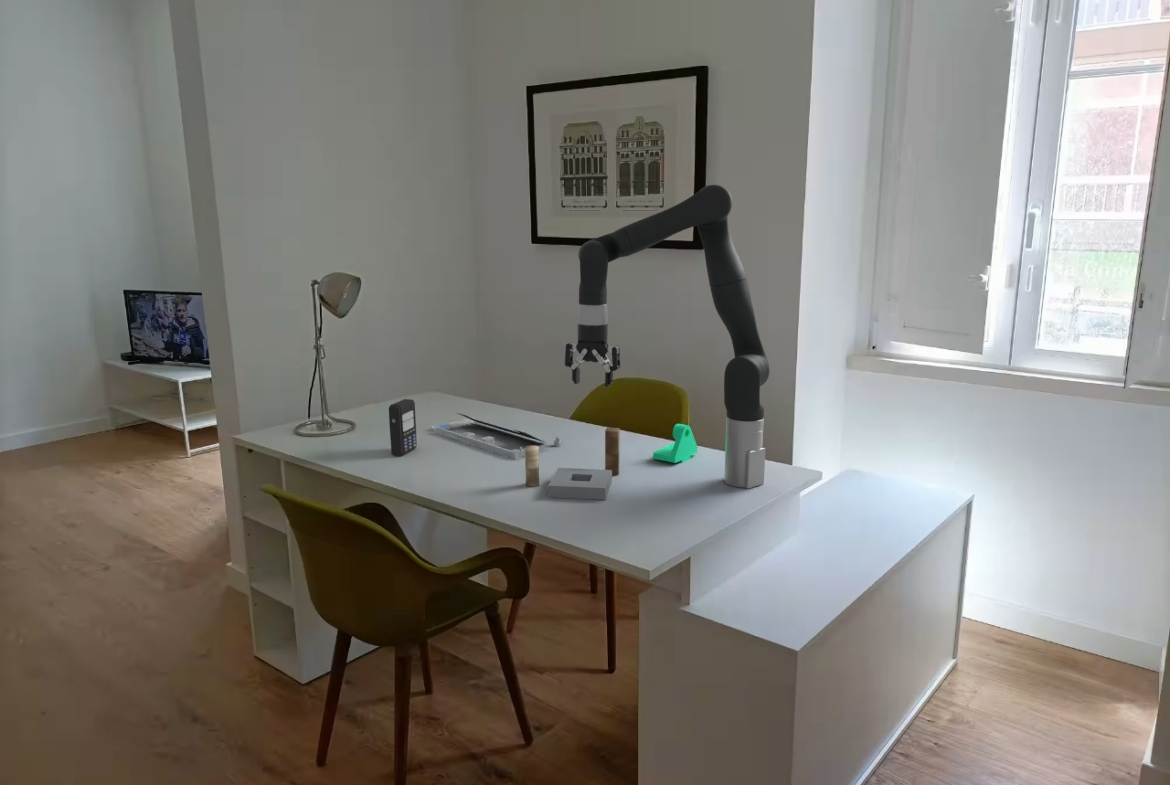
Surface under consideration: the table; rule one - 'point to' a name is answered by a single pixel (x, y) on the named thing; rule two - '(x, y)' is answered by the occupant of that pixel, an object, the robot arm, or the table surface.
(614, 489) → the table surface
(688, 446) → the camera mount
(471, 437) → the paper cutter
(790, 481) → the table surface
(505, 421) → the table surface
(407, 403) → the card reader
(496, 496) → the table surface
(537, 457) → the beech dowel
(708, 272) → the robot arm
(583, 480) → the bore plate
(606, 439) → the walnut bar
